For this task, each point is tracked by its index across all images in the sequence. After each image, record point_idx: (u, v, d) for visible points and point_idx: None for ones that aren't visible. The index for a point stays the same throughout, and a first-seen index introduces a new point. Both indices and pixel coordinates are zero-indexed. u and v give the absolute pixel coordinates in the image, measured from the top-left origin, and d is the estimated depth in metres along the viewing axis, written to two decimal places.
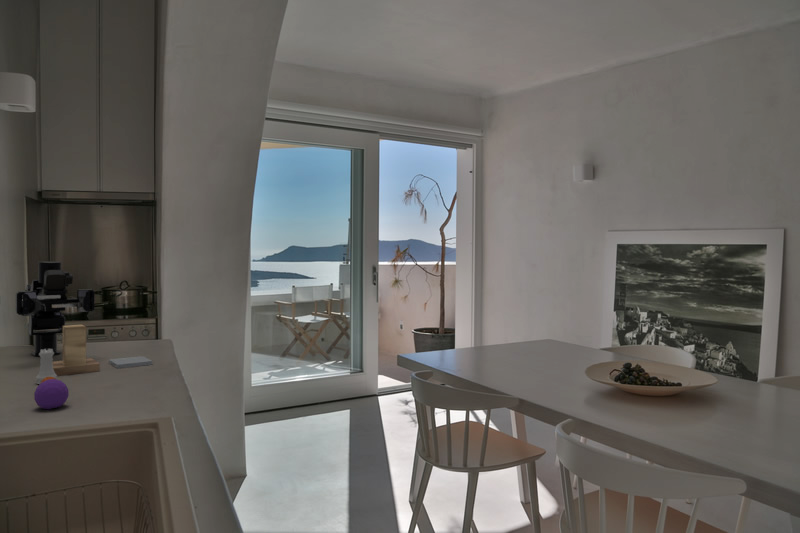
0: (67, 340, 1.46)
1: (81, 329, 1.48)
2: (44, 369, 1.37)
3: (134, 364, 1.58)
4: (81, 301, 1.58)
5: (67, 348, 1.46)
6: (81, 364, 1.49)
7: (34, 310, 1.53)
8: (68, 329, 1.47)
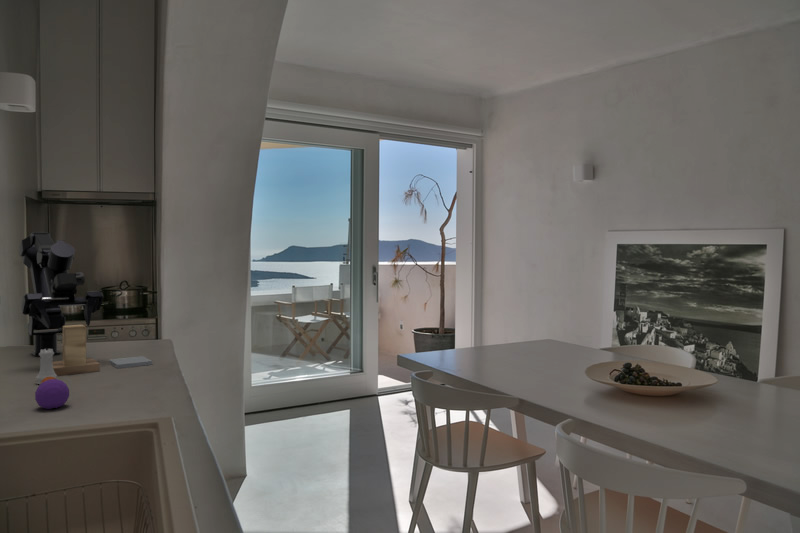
0: (67, 340, 1.46)
1: (81, 329, 1.48)
2: (44, 369, 1.37)
3: (134, 364, 1.58)
4: (89, 319, 1.56)
5: (67, 348, 1.46)
6: (81, 364, 1.49)
7: (41, 321, 1.51)
8: (68, 329, 1.47)
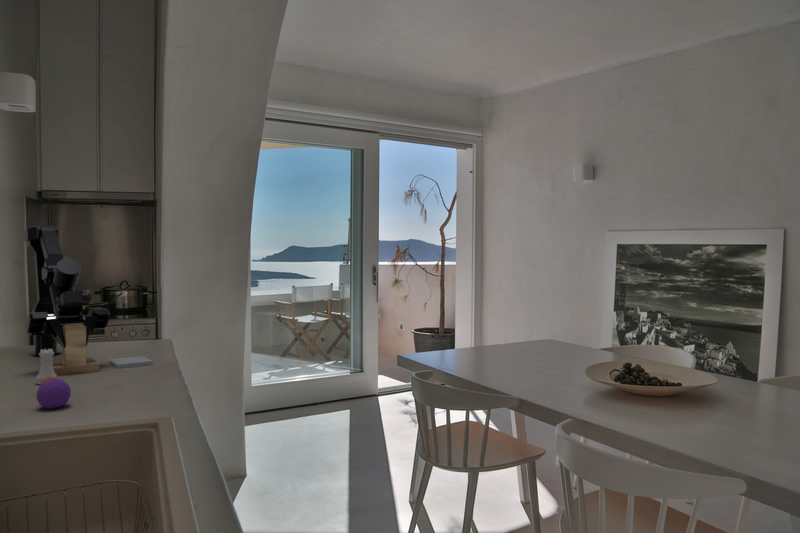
0: (67, 340, 1.46)
1: (81, 329, 1.48)
2: (44, 369, 1.37)
3: (134, 364, 1.58)
4: (86, 338, 1.51)
5: (67, 348, 1.46)
6: (81, 364, 1.49)
7: (55, 339, 1.48)
8: (68, 329, 1.47)
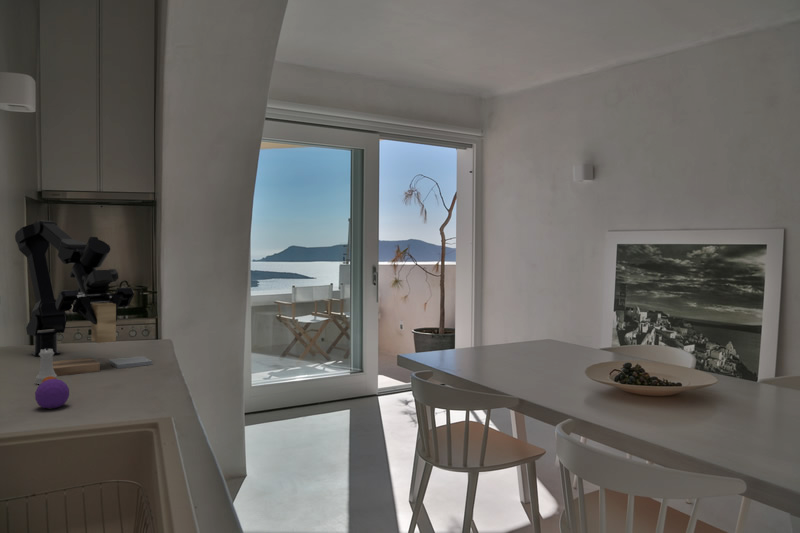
0: (99, 317, 1.51)
1: (112, 307, 1.54)
2: (44, 369, 1.37)
3: (134, 364, 1.58)
4: None
5: (99, 324, 1.52)
6: (111, 340, 1.54)
7: (85, 317, 1.53)
8: (100, 306, 1.52)
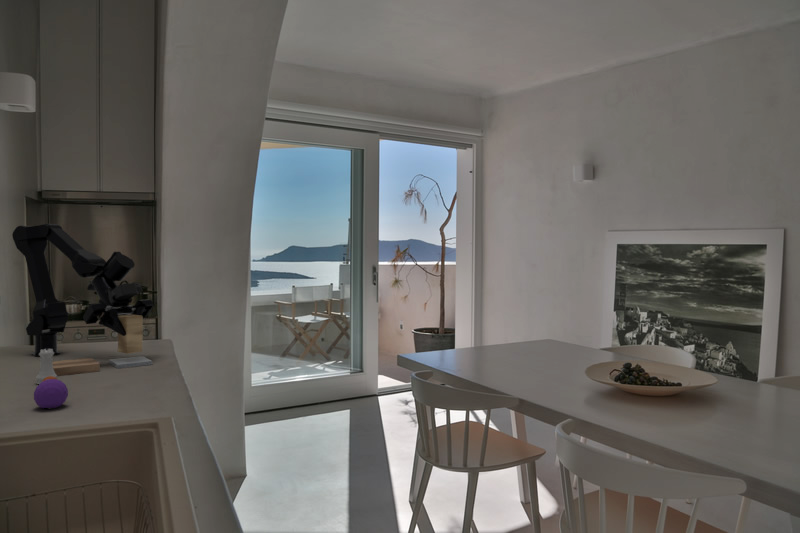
0: (128, 328, 1.59)
1: (139, 318, 1.61)
2: (44, 369, 1.37)
3: (134, 364, 1.58)
4: None
5: (128, 336, 1.59)
6: (138, 350, 1.61)
7: (113, 328, 1.59)
8: (129, 318, 1.59)
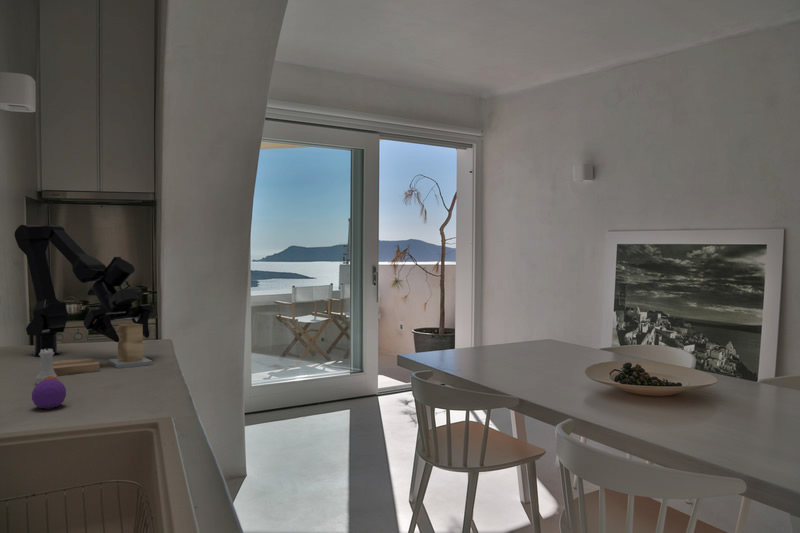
0: (128, 337, 1.59)
1: (139, 327, 1.61)
2: (44, 369, 1.37)
3: (134, 364, 1.58)
4: (147, 331, 1.65)
5: (128, 345, 1.59)
6: (139, 359, 1.61)
7: (106, 335, 1.57)
8: (129, 327, 1.59)
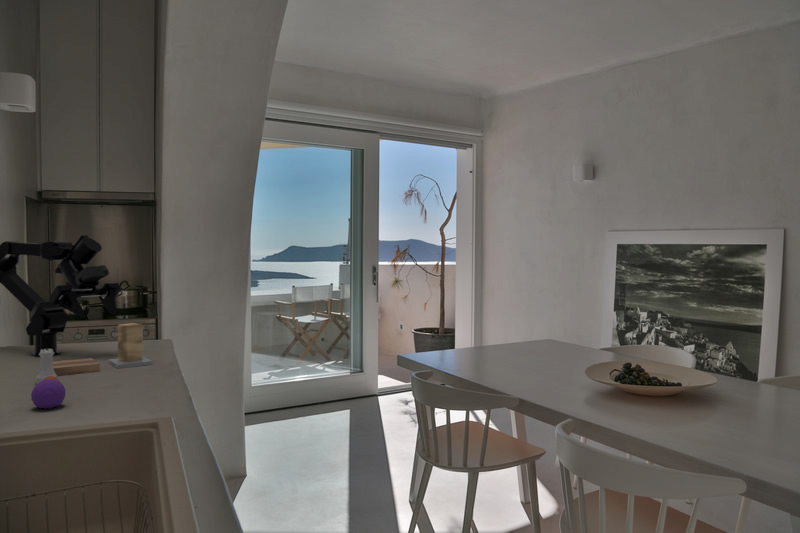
0: (128, 337, 1.59)
1: (139, 327, 1.61)
2: (44, 369, 1.37)
3: (134, 364, 1.58)
4: (114, 308, 1.69)
5: (128, 345, 1.59)
6: (139, 359, 1.61)
7: (71, 311, 1.61)
8: (129, 327, 1.59)
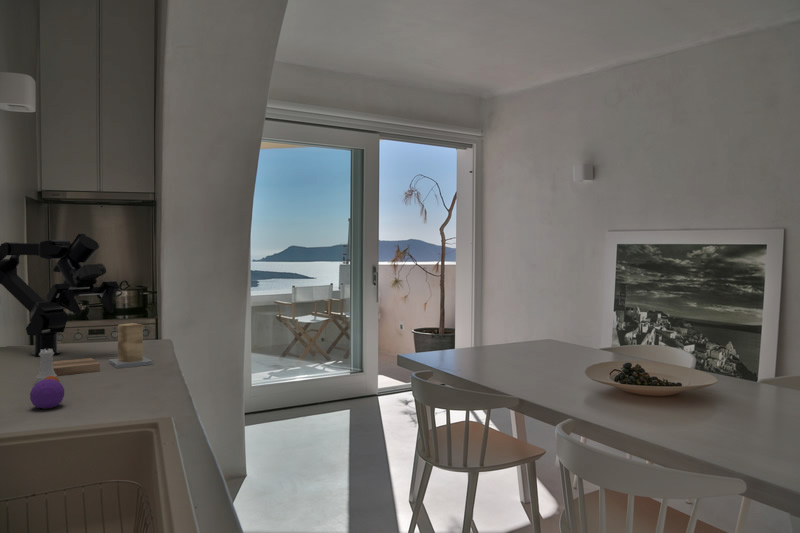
0: (128, 337, 1.59)
1: (139, 327, 1.61)
2: (44, 369, 1.37)
3: (134, 364, 1.58)
4: (111, 307, 1.68)
5: (128, 345, 1.59)
6: (139, 359, 1.61)
7: (69, 309, 1.61)
8: (129, 327, 1.59)
